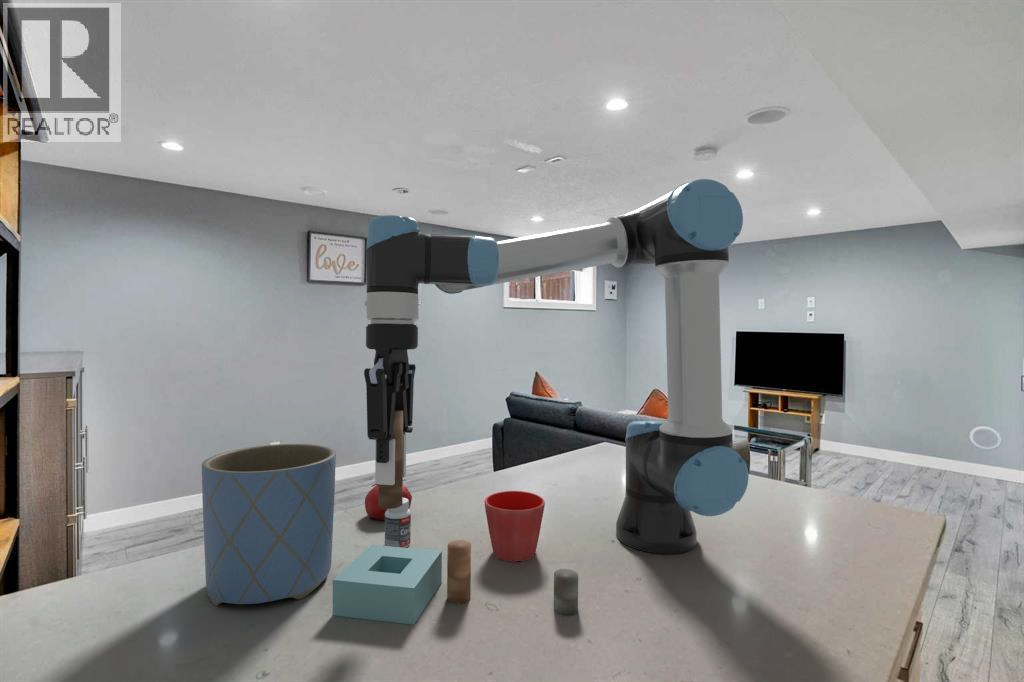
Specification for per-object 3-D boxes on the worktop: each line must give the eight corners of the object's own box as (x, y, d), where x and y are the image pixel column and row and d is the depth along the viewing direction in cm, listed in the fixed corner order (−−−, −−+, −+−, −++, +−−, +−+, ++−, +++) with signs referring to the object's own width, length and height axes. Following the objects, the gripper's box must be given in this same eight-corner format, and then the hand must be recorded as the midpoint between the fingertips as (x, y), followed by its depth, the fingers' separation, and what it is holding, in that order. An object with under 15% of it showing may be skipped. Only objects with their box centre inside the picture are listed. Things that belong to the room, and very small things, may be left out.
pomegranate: (389, 529, 103) (389, 484, 102) (354, 519, 108) (354, 476, 107) (421, 513, 111) (421, 471, 111) (387, 504, 116) (387, 464, 116)
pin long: (406, 501, 76) (406, 410, 76) (396, 509, 73) (397, 413, 73) (384, 500, 77) (385, 409, 77) (374, 507, 74) (375, 412, 73)
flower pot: (525, 572, 84) (526, 514, 84) (472, 556, 90) (473, 502, 89) (554, 549, 93) (555, 497, 93) (504, 536, 99) (505, 487, 98)
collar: (441, 582, 80) (441, 551, 80) (413, 624, 68) (414, 588, 68) (371, 575, 82) (371, 544, 82) (332, 615, 70) (332, 579, 70)
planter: (343, 552, 91) (344, 442, 91) (322, 609, 72) (323, 470, 72) (229, 559, 88) (230, 445, 87) (176, 620, 69) (176, 475, 69)
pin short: (578, 603, 74) (578, 570, 74) (577, 616, 71) (577, 581, 71) (554, 601, 75) (555, 567, 75) (552, 614, 71) (552, 579, 71)
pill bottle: (404, 551, 91) (404, 505, 91) (380, 549, 92) (380, 503, 92) (414, 541, 96) (414, 497, 96) (391, 539, 97) (391, 495, 97)
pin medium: (473, 593, 77) (473, 540, 77) (467, 605, 73) (467, 550, 73) (451, 590, 77) (451, 539, 77) (444, 602, 74) (444, 548, 74)
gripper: (391, 324, 84) (390, 464, 84) (340, 320, 67) (339, 495, 68) (434, 324, 82) (433, 467, 82) (393, 321, 66) (391, 499, 66)
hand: (390, 479), depth 75 cm, fingers closed on pin long, 3 cm apart
